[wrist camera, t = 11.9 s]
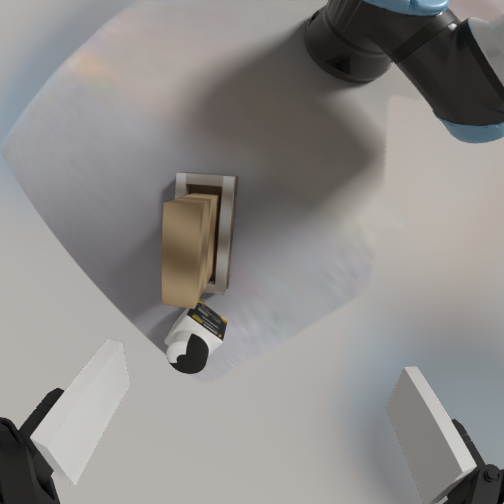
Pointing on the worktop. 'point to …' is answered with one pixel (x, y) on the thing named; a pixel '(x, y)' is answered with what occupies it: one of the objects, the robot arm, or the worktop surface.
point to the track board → (225, 222)
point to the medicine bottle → (194, 338)
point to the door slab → (188, 247)
